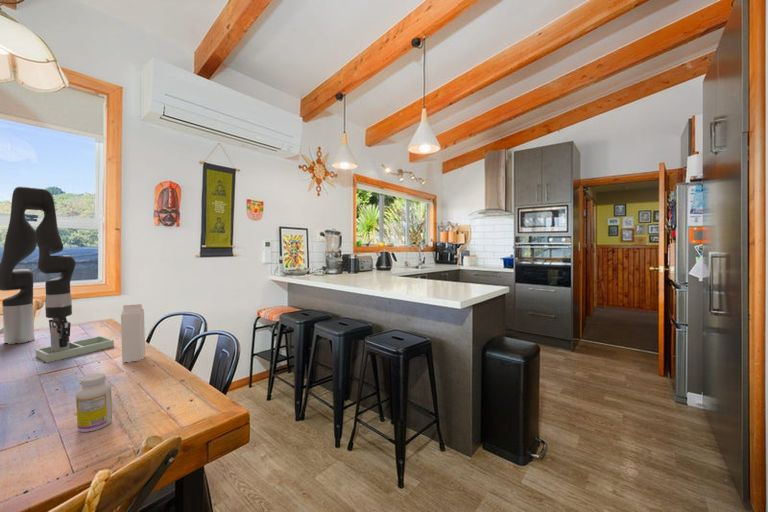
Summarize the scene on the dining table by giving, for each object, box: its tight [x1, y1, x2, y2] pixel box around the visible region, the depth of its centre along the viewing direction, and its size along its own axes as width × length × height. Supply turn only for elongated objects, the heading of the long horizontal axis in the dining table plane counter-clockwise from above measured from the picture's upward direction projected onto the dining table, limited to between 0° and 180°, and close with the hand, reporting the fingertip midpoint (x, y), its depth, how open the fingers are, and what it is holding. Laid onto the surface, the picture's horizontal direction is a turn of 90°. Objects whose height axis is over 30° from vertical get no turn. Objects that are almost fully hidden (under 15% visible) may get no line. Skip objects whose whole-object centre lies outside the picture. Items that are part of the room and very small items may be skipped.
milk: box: [120, 303, 146, 364], centre depth 127 cm, size 6×6×22 cm
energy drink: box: [49, 327, 70, 353], centre depth 131 cm, size 5×5×12 cm
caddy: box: [35, 335, 115, 363], centre depth 135 cm, size 12×21×3 cm, turn 152°
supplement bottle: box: [75, 372, 113, 433], centre depth 82 cm, size 7×7×13 cm
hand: (60, 345), depth 131 cm, fingers closed on energy drink, 5 cm apart
